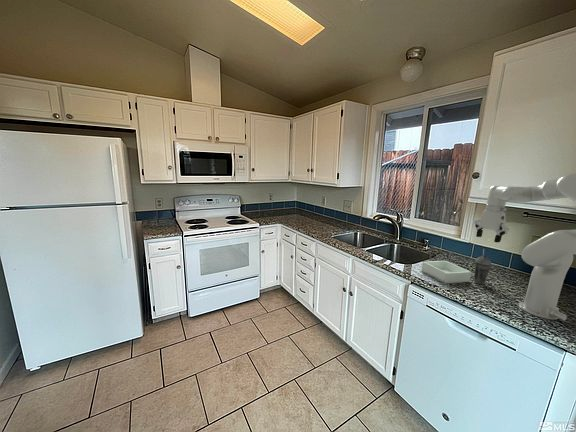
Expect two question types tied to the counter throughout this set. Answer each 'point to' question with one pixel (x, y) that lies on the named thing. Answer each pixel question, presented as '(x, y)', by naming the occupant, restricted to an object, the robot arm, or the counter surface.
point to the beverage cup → (481, 269)
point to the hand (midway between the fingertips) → (487, 239)
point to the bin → (446, 272)
